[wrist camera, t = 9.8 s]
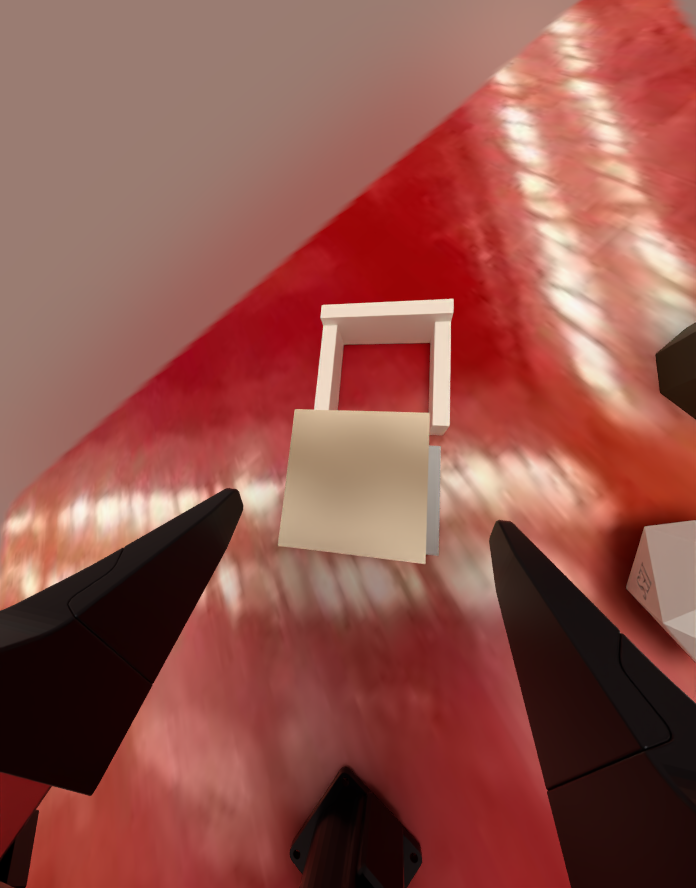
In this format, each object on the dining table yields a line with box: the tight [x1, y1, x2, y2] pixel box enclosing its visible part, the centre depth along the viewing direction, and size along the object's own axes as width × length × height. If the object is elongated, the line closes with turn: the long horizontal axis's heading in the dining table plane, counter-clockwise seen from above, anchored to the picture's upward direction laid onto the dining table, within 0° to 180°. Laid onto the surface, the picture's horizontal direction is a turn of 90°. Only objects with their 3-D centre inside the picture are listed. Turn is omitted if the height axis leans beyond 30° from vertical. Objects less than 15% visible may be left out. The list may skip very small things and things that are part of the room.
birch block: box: [278, 409, 430, 564], centre depth 17 cm, size 6×6×12 cm
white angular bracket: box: [314, 299, 453, 435], centre depth 23 cm, size 10×10×4 cm
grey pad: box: [426, 446, 441, 556], centre depth 23 cm, size 8×10×1 cm
